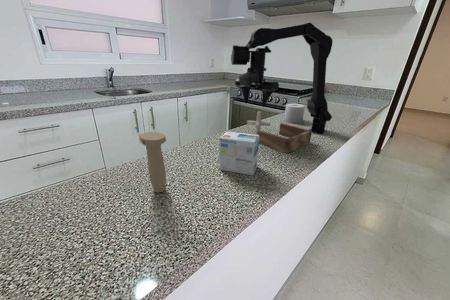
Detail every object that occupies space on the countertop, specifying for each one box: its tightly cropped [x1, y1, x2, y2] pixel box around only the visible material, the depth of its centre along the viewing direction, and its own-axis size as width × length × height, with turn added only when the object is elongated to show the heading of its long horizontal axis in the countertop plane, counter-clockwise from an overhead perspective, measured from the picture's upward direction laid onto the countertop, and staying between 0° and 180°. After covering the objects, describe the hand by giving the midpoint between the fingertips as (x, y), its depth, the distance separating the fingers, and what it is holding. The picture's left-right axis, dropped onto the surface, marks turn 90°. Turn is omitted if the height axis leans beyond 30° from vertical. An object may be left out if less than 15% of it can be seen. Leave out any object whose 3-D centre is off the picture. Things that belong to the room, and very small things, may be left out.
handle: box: [138, 131, 167, 193], centre depth 52 cm, size 5×6×15 cm
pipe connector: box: [246, 111, 271, 135], centre depth 94 cm, size 10×10×10 cm
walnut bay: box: [256, 122, 313, 154], centre depth 85 cm, size 16×14×5 cm
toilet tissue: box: [284, 103, 306, 125], centre depth 115 cm, size 9×13×9 cm
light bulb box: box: [219, 131, 260, 176], centre depth 64 cm, size 11×7×11 cm, turn 71°
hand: (254, 104), depth 90 cm, fingers open, 9 cm apart
